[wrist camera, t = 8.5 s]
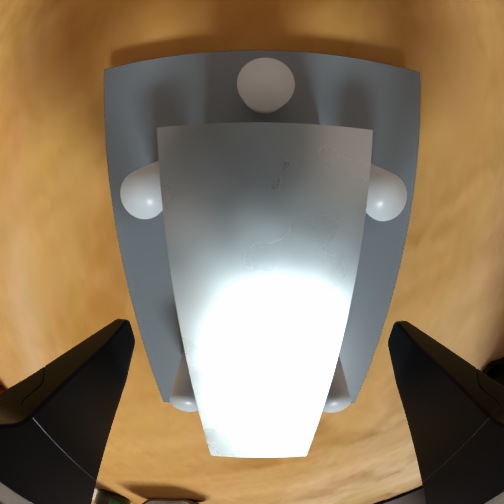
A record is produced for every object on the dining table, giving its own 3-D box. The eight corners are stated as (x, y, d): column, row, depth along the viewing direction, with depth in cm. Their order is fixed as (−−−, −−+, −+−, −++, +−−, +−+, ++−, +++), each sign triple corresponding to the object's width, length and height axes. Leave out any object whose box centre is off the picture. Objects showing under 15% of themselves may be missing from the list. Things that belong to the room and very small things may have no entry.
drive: (321, 125, 9) (375, 130, 5) (298, 374, 14) (307, 455, 10) (203, 124, 9) (154, 128, 5) (220, 373, 14) (209, 455, 10)
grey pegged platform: (408, 75, 9) (465, 64, 5) (351, 391, 17) (364, 441, 13) (115, 72, 9) (58, 60, 6) (166, 389, 17) (152, 439, 13)
